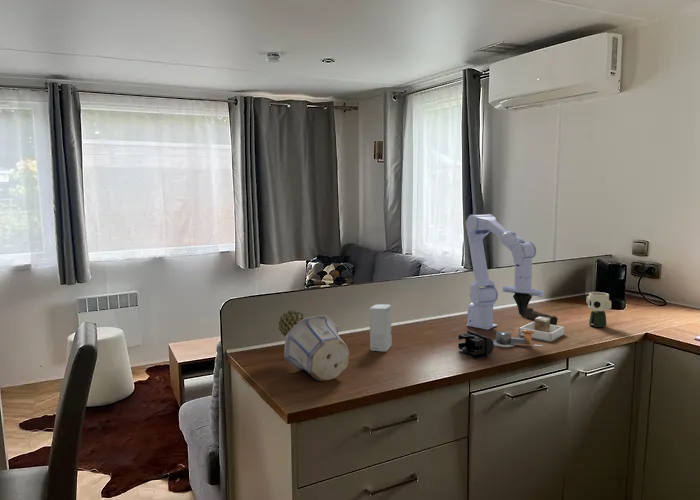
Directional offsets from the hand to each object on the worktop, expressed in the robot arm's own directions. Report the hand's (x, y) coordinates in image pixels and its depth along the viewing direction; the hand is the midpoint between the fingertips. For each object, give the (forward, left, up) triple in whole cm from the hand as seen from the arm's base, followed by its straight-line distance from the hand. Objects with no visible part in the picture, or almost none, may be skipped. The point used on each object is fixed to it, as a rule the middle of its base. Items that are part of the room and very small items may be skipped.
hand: (522, 314), depth 190 cm
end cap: (-4, -25, -10) cm, 27 cm away
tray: (+3, +10, -9) cm, 14 cm away
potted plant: (-36, -70, -10) cm, 80 cm away
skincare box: (-32, -40, -10) cm, 52 cm away
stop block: (+3, +10, -9) cm, 14 cm away
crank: (+1, -7, -9) cm, 11 cm away
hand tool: (-7, +30, -10) cm, 32 cm away
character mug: (+15, +36, -10) cm, 40 cm away
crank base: (+1, -7, -9) cm, 12 cm away
